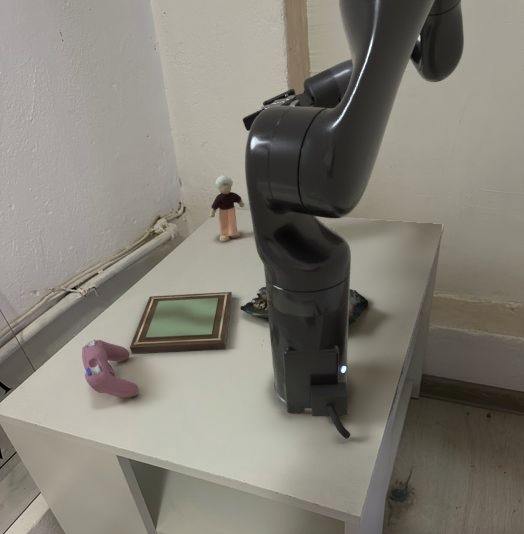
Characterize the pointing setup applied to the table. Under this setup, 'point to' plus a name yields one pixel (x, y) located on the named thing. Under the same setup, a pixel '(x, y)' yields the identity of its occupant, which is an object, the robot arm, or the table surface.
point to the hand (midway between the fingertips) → (248, 133)
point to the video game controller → (106, 369)
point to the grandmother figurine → (226, 208)
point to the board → (183, 323)
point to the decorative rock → (261, 309)
